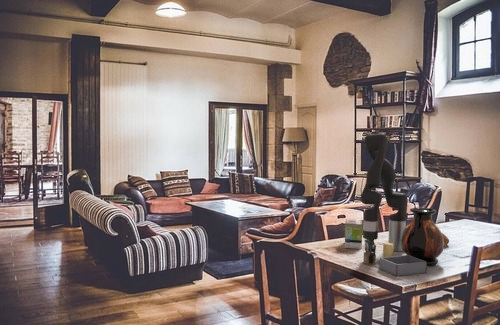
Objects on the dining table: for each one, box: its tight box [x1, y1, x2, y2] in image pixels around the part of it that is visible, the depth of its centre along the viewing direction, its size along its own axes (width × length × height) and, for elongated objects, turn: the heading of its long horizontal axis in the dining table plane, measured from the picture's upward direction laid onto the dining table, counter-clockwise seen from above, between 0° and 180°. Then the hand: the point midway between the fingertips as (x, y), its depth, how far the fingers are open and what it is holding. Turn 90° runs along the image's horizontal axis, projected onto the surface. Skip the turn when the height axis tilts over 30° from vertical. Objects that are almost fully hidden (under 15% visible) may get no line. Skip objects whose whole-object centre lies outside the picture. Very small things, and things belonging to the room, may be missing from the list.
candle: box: [382, 242, 394, 257], centre depth 242 cm, size 5×5×10 cm
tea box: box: [344, 219, 363, 250], centre depth 280 cm, size 15×10×15 cm
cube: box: [363, 251, 377, 265], centre depth 242 cm, size 5×5×5 cm
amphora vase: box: [401, 207, 445, 267], centre depth 244 cm, size 22×22×28 cm
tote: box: [378, 254, 428, 277], centre depth 228 cm, size 17×13×6 cm
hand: (369, 261), depth 242 cm, fingers closed on cube, 5 cm apart
